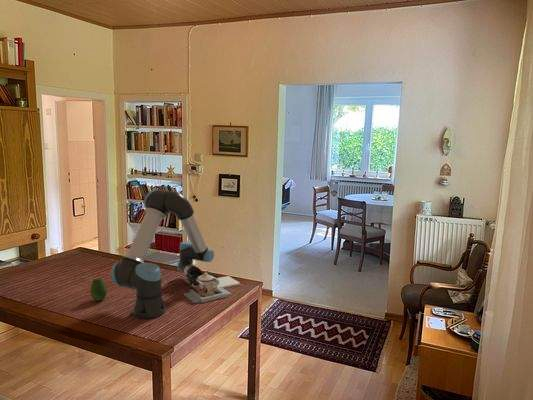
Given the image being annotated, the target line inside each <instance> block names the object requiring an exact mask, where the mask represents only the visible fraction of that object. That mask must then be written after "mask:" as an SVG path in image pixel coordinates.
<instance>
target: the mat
mask: <svg viewBox="0 0 533 400" xmlns="http://www.w3.org/2000/svg"><path fill="white" fill-rule="evenodd" d="M217 278H218V279H219V285H217V287H218V288H224V289H227V288H230V287H235V286H240V285H241V282H239V281H238V280H236V279H234V278H232V277H231V276H229V275H227V276H222V277H217Z"/></svg>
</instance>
